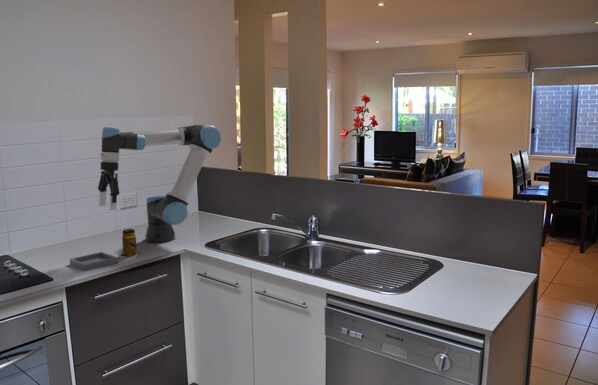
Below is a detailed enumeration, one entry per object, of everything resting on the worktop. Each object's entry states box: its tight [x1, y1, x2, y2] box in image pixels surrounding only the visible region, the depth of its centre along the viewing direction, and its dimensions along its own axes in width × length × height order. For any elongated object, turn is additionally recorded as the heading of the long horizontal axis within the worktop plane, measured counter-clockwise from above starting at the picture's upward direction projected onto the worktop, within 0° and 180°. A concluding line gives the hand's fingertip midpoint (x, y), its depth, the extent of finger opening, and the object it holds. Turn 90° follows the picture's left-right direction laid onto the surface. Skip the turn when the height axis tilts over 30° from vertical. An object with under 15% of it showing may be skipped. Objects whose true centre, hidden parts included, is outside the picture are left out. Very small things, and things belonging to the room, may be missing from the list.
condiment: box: [117, 228, 139, 259], centre depth 237 cm, size 7×8×12 cm
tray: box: [69, 251, 118, 272], centre depth 225 cm, size 15×14×2 cm
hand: (107, 208), depth 232 cm, fingers open, 13 cm apart
